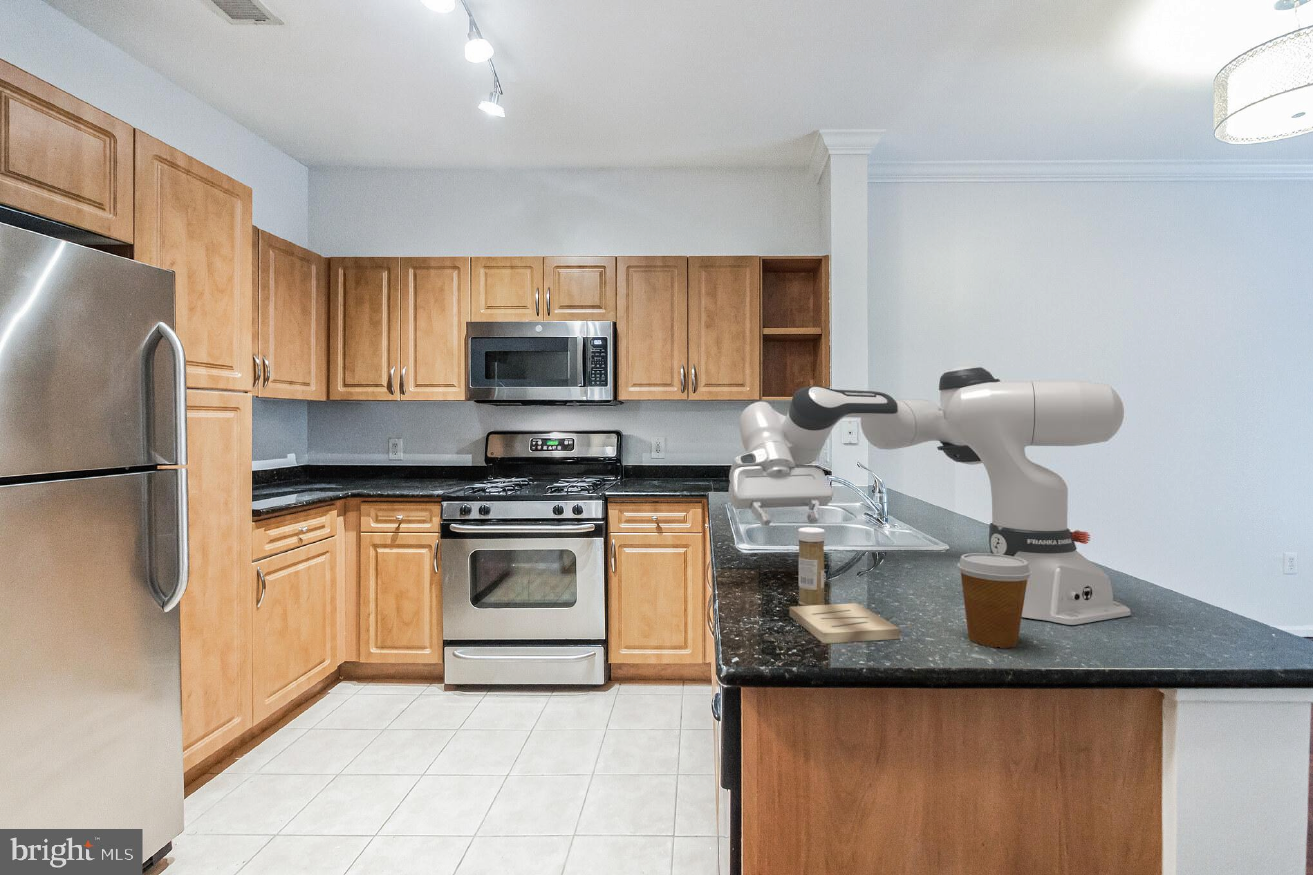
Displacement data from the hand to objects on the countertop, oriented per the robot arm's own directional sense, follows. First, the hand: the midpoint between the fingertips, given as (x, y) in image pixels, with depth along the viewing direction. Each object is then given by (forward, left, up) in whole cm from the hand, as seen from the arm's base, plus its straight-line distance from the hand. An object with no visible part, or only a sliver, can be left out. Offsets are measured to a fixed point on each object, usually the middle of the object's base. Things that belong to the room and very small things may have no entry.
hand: (790, 522), depth 115 cm
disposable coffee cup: (-19, +29, -13) cm, 38 cm away
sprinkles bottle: (0, +8, -13) cm, 16 cm away
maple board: (0, +20, -13) cm, 24 cm away
